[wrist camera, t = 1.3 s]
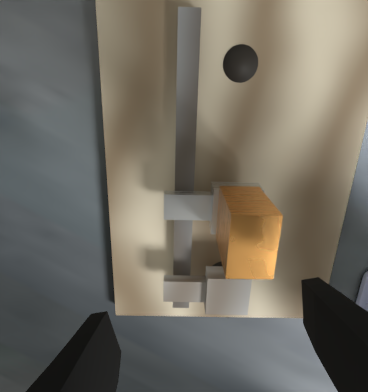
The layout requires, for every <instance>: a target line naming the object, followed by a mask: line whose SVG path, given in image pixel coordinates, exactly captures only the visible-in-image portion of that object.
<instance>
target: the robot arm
mask: <svg viewBox="0 0 368 392" xmlns="http://www.w3.org/2000/svg"><path fill="white" fill-rule="evenodd" d="M301 284H302V304H303V324H304V326H305V329H306V331H307V333H308V336H309V338H310V341H311V343H312V345H313V347H314V350H315V352H316V354H317V355H318V357H319V359H320V361H321V363H322V364H323V366H324V368H325V370H326V371H327V373H328V375H329V377H330V379H331V380H332V382H333V384H334V386H335V387H336V389H337V391H338V392H368V271H367V272H366V273H365V274H364V275H363V279H362V282H361V286H360V289H359V293H358V297H357V300H356V303H354V302H353V301H352V300H350V299H349V298H347V297H346V296H344V295H343V294H342V293H340V292H339V291H337V290H336V289H334V288H333V287H332V286H330V285H329V284H327V283H326V282H325V281H323V280H322V279H320V278H319V277H316V278H310V279H304V280H301ZM120 359H121V350H120V347H119V344H118V342H117V339H116V336H115V333H114V330H113V327H112V324H111V321H110V318H109V315H108V312H107V311H106V312H100V313H94V314H91V315H90V316H89V317H88V318H87V320H86V321H85V322H84V323H83V325H82V326H81V327H80V328H79V330H78V331H77V332H76V333H75V335H74V336H73V337H72V338H71V340H70V341H69V342H68V343H67V344H66V346H65V347H64V348H63V349H62V351H61V352H60V353H59V354H58V355H57V357H56V358H55V359H54V360H53V361H52V363H51V364H50V365H49V366H48V367H47V368H46V369H45V371H44V372H43V373H42V374H41V375H40V376H39V377H38V378H37V380H36V381H35V382H34V383H33V384H32V385H31V386H30V387H29V389H28V390H27V391H26V392H116V389H117V384H118V377H119V369H120Z"/></svg>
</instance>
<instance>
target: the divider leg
mask: <svg viewBox="0 0 368 392" xmlns="http://www.w3.org/2000/svg"><path fill="white" fill-rule="evenodd" d="M164 220H203V221H209V227H210V232H211V234H216V240H217V245H218V249H219V253H220V257H221V262H222V266H223V270H224V274H225V279H270V280H273V278H274V271H275V265H276V258H277V252H278V246H279V239H280V233H281V227H282V220H283V215H282V214H281V213H280V211H279V210H278V209H277V208H276V206H275V205H274V204H273V203H272V202H271V200H270V199H269V198H268V197H267V195H266V194H265V193H264V189H263V188H262V187H261V186H260V185H259V183H248V182H211V192H206V191H164Z"/></svg>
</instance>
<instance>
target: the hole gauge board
mask: <svg viewBox="0 0 368 392" xmlns="http://www.w3.org/2000/svg"><path fill="white" fill-rule="evenodd" d="M95 2H96V17H97V33H98V48H99V64H100V79H101V94H102V110H103V125H104V141H105V156H106V171H107V187H108V202H109V218H110V233H111V248H112V264H113V279H114V295H115V310H116V315H137V316H198V317H260V318H303V304H302V284H301V280H304V279H310V278H316V277H319V278H320V279H322V280H323V281H325V282H326V283H327V284H329V281H330V276H331V272H332V268H333V264H334V259H335V255H336V251H337V247H338V242H339V238H340V234H341V230H342V225H343V221H344V217H345V213H346V209H347V204H348V200H349V196H350V192H351V187H352V183H353V179H354V175H355V170H356V166H357V162H358V158H359V153H360V149H361V145H362V141H363V136H364V132H365V128H366V124H367V119H368V0H95ZM211 182H248V183H259V185H260V186H261V187H262V188H263V189H264V193H265V194H266V195H267V197H268V198H269V199H270V200H271V202H272V203H273V204H274V205H275V206H276V208H277V209H278V210H279V211H280V213H281V214H282V215H283V220H282V227H281V233H280V239H279V246H278V252H277V258H276V265H275V271H274V278H273V280H270V279H225V274H224V270H223V266H222V262H221V257H220V253H219V249H218V245H217V240H216V234H211V232H210V227H209V221H203V220H164V191H206V192H211Z"/></svg>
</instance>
